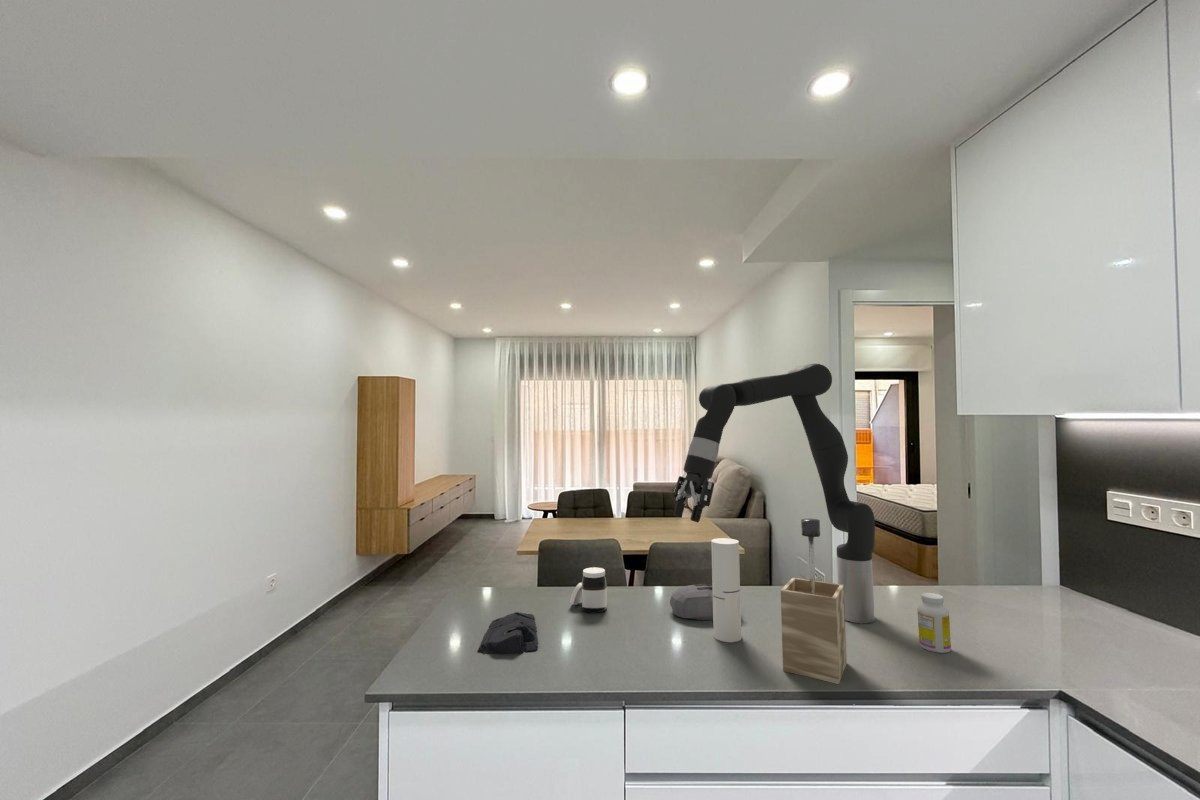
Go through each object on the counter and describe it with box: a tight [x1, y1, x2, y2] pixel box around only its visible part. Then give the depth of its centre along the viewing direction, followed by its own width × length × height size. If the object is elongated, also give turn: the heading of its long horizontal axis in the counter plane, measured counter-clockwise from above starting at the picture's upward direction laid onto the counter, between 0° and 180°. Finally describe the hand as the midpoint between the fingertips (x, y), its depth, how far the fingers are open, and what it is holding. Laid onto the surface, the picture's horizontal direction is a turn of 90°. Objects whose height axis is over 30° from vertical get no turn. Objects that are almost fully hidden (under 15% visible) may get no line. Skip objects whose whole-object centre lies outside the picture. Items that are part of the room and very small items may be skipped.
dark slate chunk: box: [477, 611, 539, 655], centre depth 138 cm, size 15×22×5 cm
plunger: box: [800, 518, 821, 595], centre depth 120 cm, size 9×9×22 cm
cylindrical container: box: [710, 537, 742, 643], centre depth 137 cm, size 7×7×25 cm
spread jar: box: [570, 566, 608, 613], centre depth 160 cm, size 12×11×12 cm
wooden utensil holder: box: [780, 577, 848, 685], centre depth 119 cm, size 12×12×18 cm
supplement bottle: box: [916, 592, 952, 654], centre depth 128 cm, size 7×7×13 cm
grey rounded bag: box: [669, 583, 713, 621], centre depth 154 cm, size 15×8×20 cm
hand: (685, 518), depth 131 cm, fingers open, 8 cm apart
